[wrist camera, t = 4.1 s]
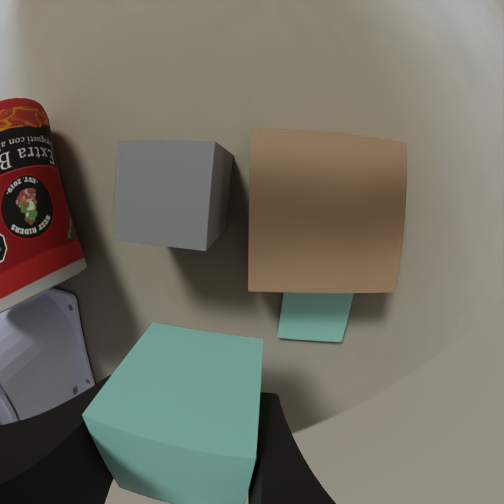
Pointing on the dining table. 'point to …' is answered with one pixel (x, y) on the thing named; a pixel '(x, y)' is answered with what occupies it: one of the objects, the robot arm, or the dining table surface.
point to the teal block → (182, 416)
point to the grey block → (171, 193)
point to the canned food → (32, 208)
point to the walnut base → (325, 212)
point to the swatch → (314, 316)
